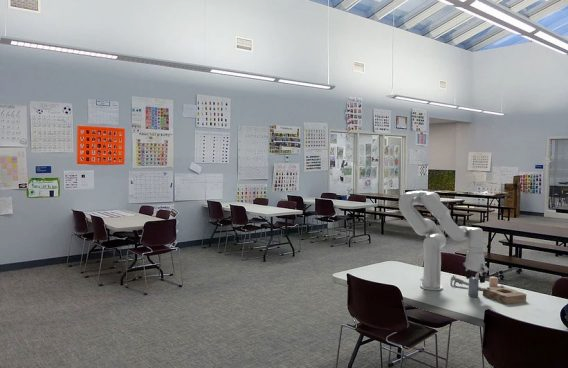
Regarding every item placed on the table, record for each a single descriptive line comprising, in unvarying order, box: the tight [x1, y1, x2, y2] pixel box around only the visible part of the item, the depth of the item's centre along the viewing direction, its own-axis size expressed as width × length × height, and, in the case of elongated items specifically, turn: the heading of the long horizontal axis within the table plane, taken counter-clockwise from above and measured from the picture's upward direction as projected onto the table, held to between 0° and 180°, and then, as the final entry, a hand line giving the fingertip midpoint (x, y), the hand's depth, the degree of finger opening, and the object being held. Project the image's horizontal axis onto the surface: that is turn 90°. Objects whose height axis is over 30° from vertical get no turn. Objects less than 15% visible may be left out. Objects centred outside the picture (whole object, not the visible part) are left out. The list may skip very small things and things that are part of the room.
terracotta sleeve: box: [488, 276, 499, 287], centre depth 251 cm, size 4×4×8 cm
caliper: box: [450, 274, 484, 292], centre depth 257 cm, size 20×1×6 cm, turn 52°
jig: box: [482, 285, 527, 305], centre depth 238 cm, size 16×14×5 cm
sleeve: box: [467, 276, 480, 298], centre depth 242 cm, size 5×5×10 cm
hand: (475, 280), depth 241 cm, fingers open, 9 cm apart
